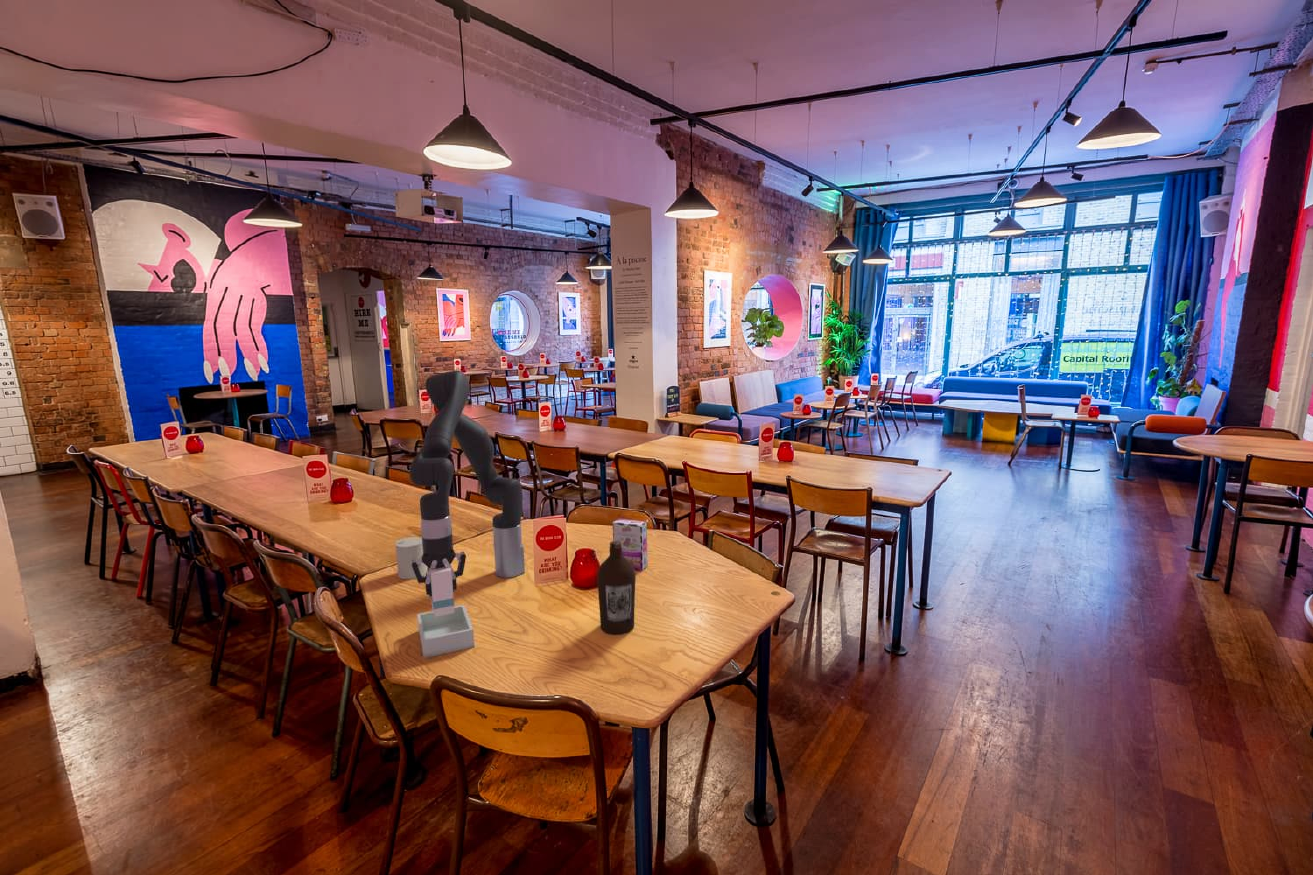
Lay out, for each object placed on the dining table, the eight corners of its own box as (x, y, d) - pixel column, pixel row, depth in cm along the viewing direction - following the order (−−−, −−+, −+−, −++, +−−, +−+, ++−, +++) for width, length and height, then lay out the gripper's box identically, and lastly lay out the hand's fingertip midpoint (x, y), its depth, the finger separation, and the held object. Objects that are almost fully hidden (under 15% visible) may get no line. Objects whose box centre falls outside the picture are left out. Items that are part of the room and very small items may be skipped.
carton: (450, 600, 165) (447, 559, 163) (454, 612, 158) (451, 570, 156) (431, 604, 163) (427, 562, 161) (434, 617, 156) (430, 573, 154)
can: (397, 570, 207) (394, 537, 205) (426, 566, 210) (423, 534, 208) (397, 581, 199) (394, 547, 196) (427, 576, 202) (424, 542, 200)
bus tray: (465, 620, 172) (464, 604, 171) (474, 646, 158) (473, 629, 157) (418, 630, 167) (417, 614, 166) (423, 658, 153) (422, 640, 152)
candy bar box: (648, 566, 209) (647, 521, 206) (642, 571, 205) (641, 525, 202) (619, 561, 213) (618, 517, 210) (613, 566, 209) (612, 522, 206)
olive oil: (596, 620, 172) (593, 537, 167) (632, 615, 174) (631, 534, 169) (601, 638, 162) (598, 551, 157) (639, 634, 164) (638, 547, 159)
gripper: (463, 524, 163) (467, 582, 166) (406, 532, 157) (411, 593, 160) (467, 533, 156) (471, 593, 160) (408, 541, 150) (413, 604, 154)
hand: (441, 593), depth 160 cm, fingers closed on carton, 5 cm apart
